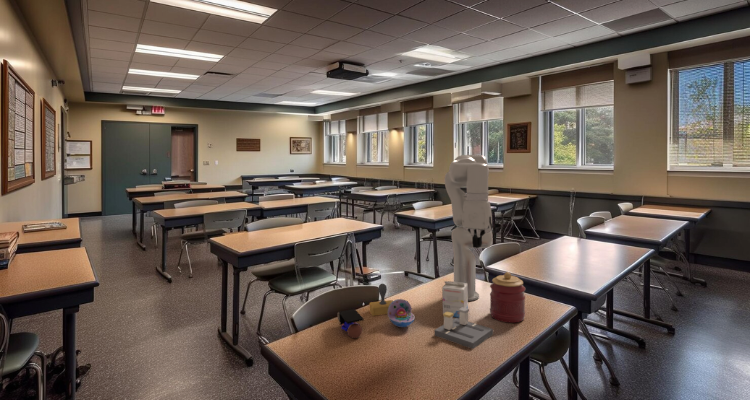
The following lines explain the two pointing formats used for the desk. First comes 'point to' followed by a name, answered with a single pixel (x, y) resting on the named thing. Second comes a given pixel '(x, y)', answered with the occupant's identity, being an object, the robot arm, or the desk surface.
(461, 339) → the board
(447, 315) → the fader tab brass
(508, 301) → the canister
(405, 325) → the cell model
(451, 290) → the ink box
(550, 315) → the desk surface
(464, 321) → the fader tab plain
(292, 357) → the desk surface
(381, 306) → the rubber stamp
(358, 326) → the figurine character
